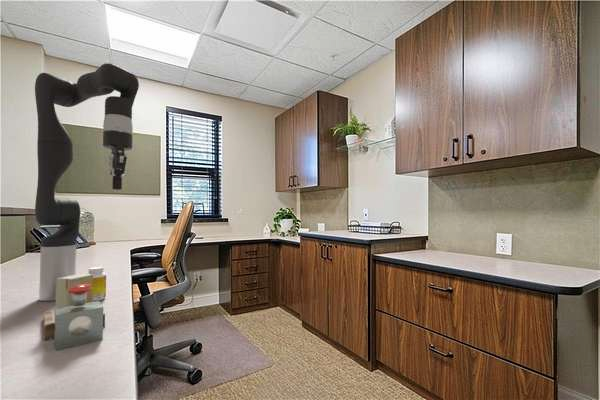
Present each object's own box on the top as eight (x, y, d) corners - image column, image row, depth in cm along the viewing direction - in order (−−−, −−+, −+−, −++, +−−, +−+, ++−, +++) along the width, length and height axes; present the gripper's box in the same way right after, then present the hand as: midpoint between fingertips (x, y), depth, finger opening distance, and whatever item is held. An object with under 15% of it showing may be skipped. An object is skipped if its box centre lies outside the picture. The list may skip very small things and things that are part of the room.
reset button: (67, 304, 64) (67, 286, 64) (89, 300, 66) (89, 283, 66) (68, 308, 61) (69, 289, 61) (91, 304, 63) (92, 286, 63)
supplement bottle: (108, 299, 94) (109, 267, 94) (87, 303, 89) (88, 270, 90) (102, 296, 97) (102, 265, 98) (82, 300, 93) (83, 268, 93)
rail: (44, 319, 76) (44, 307, 76) (94, 309, 83) (95, 299, 84) (44, 340, 63) (45, 326, 63) (104, 326, 70) (105, 314, 71)
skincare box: (67, 331, 68) (68, 279, 68) (53, 330, 69) (54, 278, 69) (93, 321, 74) (94, 273, 75) (79, 320, 75) (80, 273, 76)
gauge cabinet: (53, 341, 63) (55, 308, 63) (98, 331, 68) (99, 300, 68) (55, 351, 58) (56, 316, 58) (102, 339, 63) (103, 307, 64)
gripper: (99, 135, 90) (98, 190, 89) (107, 125, 80) (105, 187, 79) (127, 139, 95) (126, 191, 94) (137, 130, 85) (136, 188, 84)
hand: (116, 189), depth 87 cm, fingers closed
